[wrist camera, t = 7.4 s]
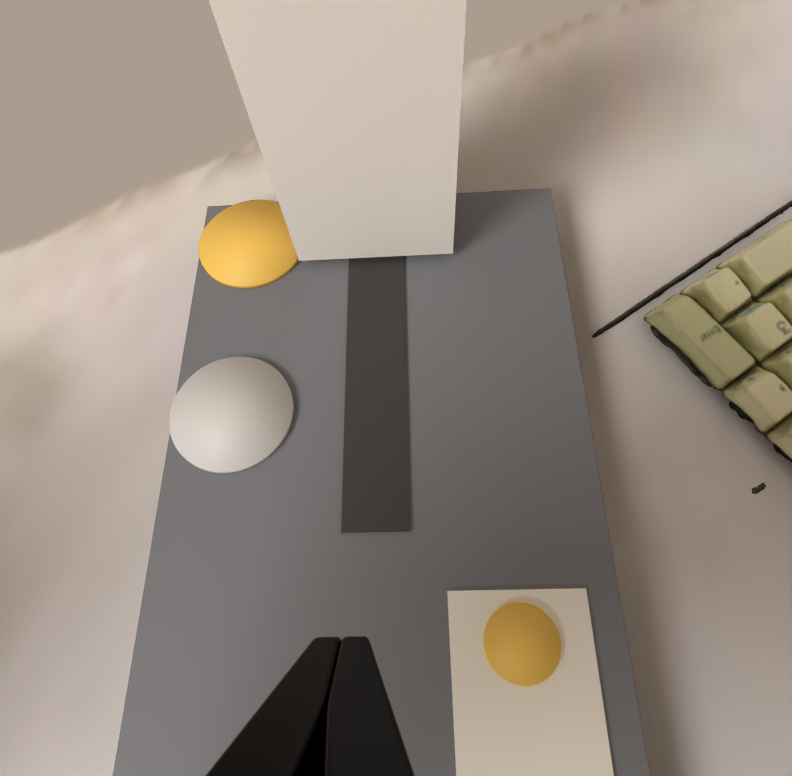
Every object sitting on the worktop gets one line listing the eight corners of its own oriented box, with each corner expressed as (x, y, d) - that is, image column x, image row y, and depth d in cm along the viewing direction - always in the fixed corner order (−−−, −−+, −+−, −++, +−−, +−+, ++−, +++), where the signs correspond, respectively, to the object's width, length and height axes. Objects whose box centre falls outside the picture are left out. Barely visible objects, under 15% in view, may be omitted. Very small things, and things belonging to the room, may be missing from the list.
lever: (466, 263, 18) (520, -343, 7) (285, 271, 18) (63, -298, 7) (458, 173, 19) (493, -432, 8) (293, 182, 20) (121, -392, 9)
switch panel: (655, 933, 12) (687, 976, 11) (119, 927, 13) (75, 967, 11) (540, 208, 21) (549, 172, 19) (223, 224, 21) (207, 191, 20)
